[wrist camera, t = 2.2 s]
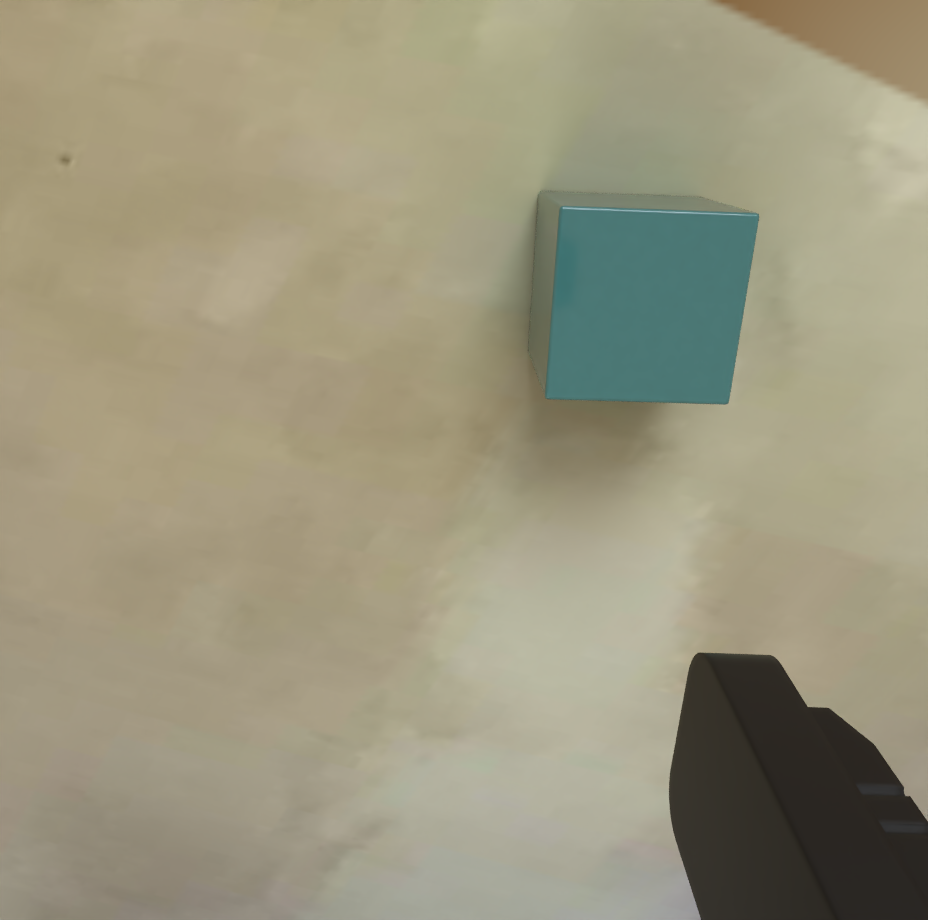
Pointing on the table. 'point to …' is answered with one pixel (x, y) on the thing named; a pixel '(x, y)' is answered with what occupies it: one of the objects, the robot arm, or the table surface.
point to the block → (638, 296)
